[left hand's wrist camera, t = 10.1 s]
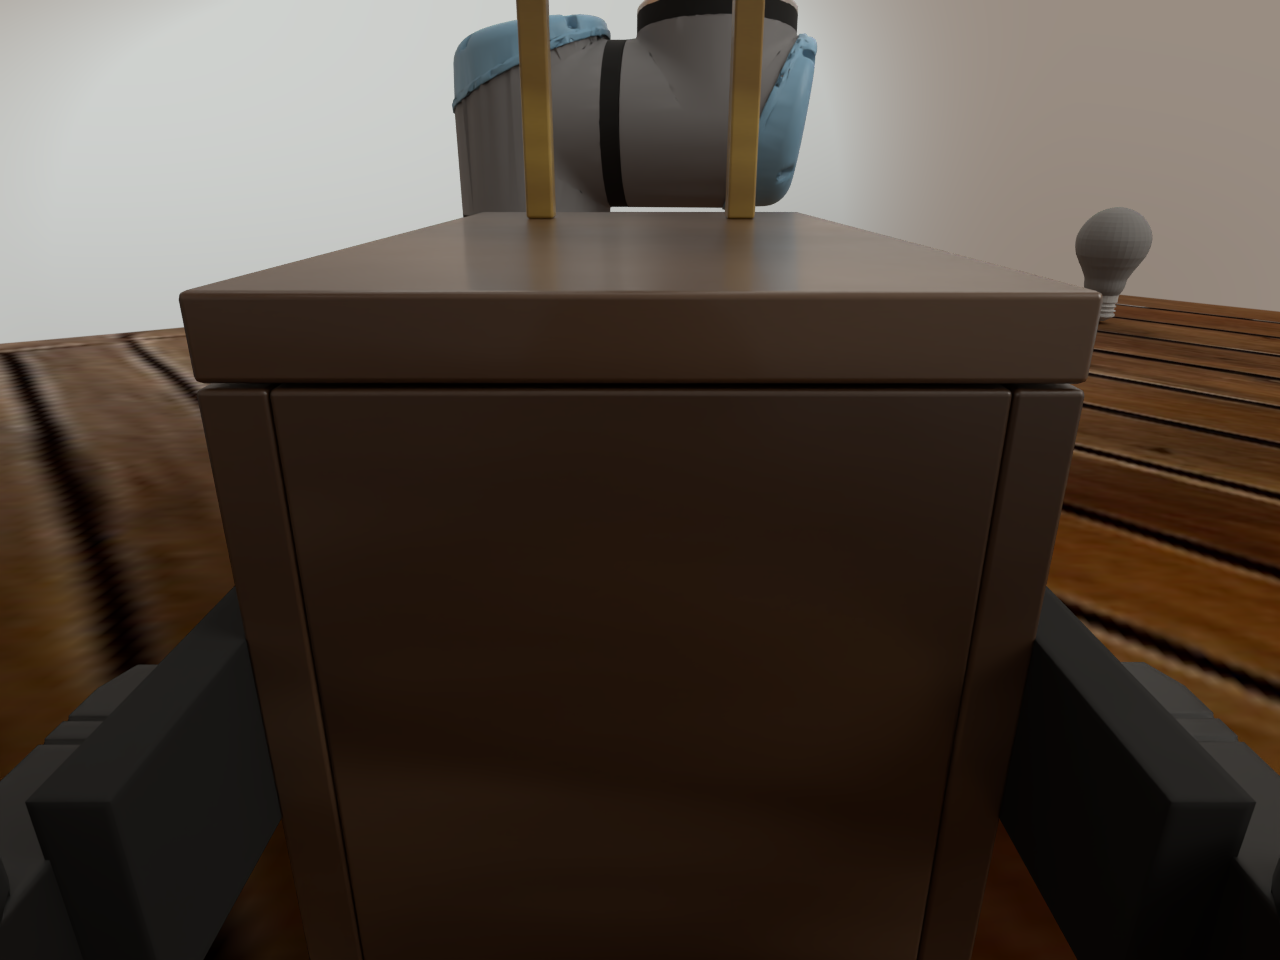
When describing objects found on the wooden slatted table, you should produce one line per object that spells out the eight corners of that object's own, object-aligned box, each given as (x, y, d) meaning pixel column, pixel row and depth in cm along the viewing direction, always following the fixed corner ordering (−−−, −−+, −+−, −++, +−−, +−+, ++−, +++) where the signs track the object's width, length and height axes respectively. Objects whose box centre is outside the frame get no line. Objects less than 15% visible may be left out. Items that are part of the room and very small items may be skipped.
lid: (484, 245, 24) (463, -61, 22) (796, 245, 24) (817, -61, 22) (192, 384, 9) (-28, -709, 6) (1089, 385, 9) (1310, -705, 6)
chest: (503, 582, 28) (481, 248, 24) (776, 582, 28) (799, 248, 24) (334, 1093, 13) (193, 389, 9) (945, 1093, 13) (1089, 390, 9)
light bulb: (1075, 325, 73) (1098, 208, 70) (1052, 314, 79) (1071, 205, 75) (1145, 326, 73) (1172, 209, 69) (1117, 315, 78) (1140, 206, 75)
